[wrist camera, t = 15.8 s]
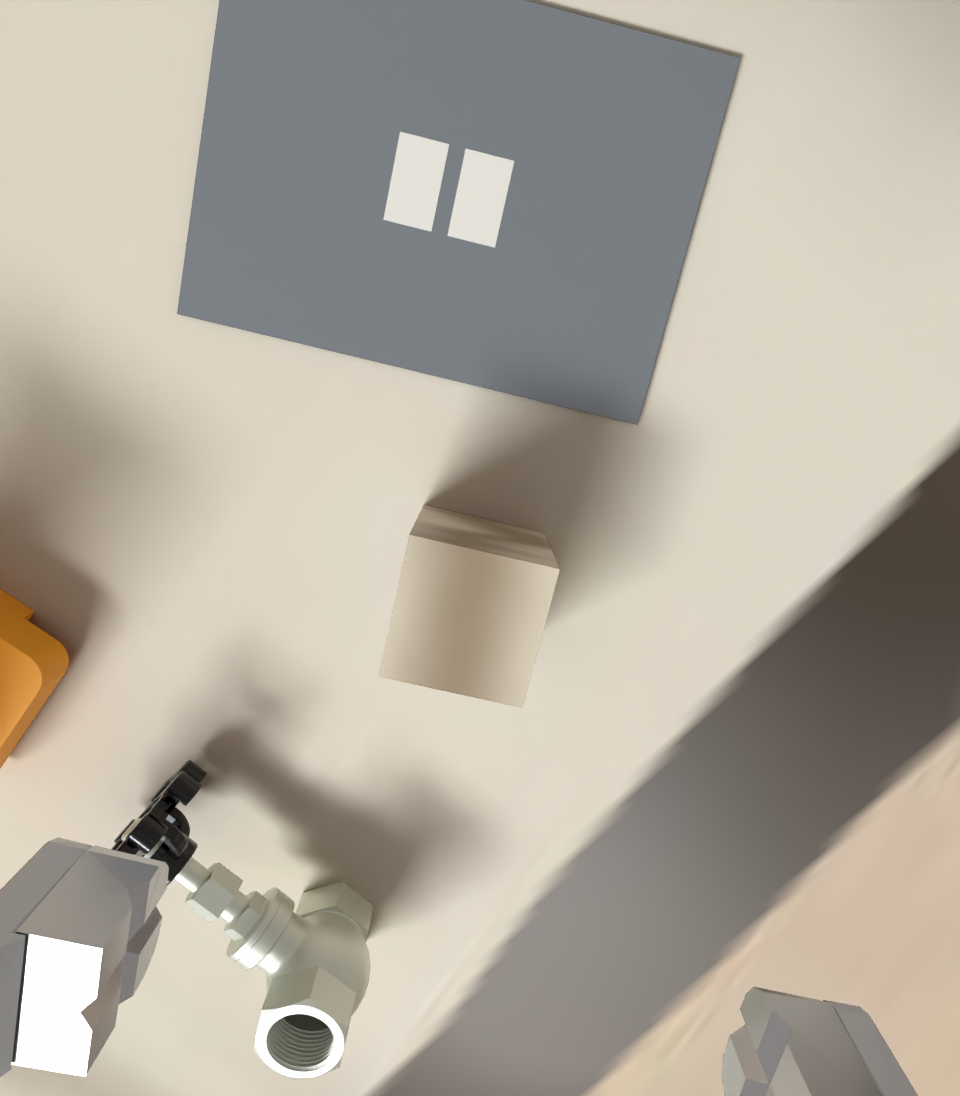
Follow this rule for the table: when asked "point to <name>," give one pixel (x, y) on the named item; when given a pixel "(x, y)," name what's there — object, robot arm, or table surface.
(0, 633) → the bracket
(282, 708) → the table surface
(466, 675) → the maple block
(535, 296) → the grey mat
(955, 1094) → the table surface
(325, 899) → the valve
